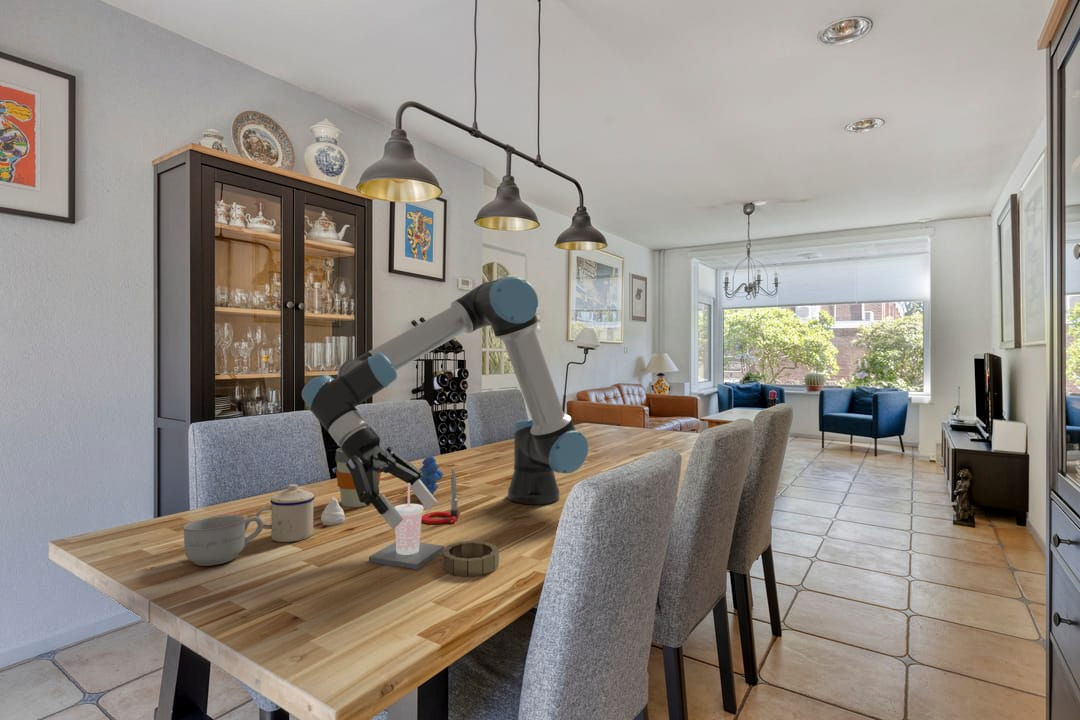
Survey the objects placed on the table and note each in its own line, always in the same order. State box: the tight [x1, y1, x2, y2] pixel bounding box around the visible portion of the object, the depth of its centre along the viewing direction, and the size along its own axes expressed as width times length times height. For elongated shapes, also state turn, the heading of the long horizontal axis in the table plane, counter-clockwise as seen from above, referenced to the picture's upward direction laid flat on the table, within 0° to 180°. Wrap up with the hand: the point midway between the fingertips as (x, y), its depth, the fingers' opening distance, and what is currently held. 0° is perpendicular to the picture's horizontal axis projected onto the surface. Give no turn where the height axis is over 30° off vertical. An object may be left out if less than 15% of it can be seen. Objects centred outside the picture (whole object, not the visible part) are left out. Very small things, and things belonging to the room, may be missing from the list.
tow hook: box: [421, 468, 461, 525], centre depth 139 cm, size 8×13×9 cm
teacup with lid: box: [255, 483, 315, 543], centre depth 124 cm, size 12×9×12 cm
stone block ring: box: [441, 540, 500, 578], centre depth 109 cm, size 11×11×3 cm
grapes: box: [419, 455, 444, 496], centre depth 161 cm, size 12×7×12 cm, turn 29°
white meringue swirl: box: [320, 497, 346, 526], centre depth 135 cm, size 6×6×5 cm
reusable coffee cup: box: [334, 447, 382, 508], centre depth 153 cm, size 13×13×15 cm
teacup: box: [182, 514, 264, 567], centre depth 110 cm, size 14×11×8 cm
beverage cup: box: [393, 483, 425, 555], centre depth 114 cm, size 6×6×14 cm
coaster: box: [368, 541, 445, 570], centre depth 114 cm, size 11×11×1 cm
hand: (416, 514), depth 113 cm, fingers open, 13 cm apart
